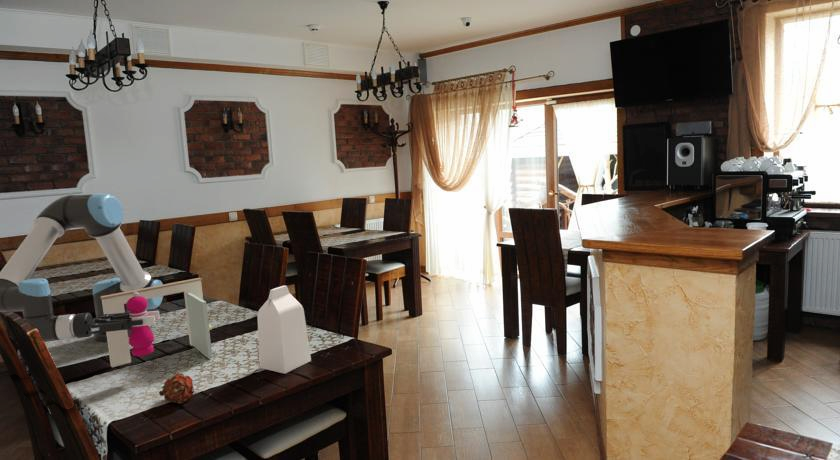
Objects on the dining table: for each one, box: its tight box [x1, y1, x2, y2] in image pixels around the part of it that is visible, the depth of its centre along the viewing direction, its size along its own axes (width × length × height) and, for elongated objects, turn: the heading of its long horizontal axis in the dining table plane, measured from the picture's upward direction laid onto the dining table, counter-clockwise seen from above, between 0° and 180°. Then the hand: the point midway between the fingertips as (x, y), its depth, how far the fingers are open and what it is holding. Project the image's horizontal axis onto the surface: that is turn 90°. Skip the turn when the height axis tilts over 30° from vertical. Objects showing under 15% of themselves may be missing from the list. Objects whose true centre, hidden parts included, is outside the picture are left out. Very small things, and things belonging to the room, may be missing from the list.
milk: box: [257, 285, 312, 374], centre depth 182 cm, size 12×12×26 cm
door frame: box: [100, 277, 204, 368], centre depth 200 cm, size 3×34×25 cm, turn 133°
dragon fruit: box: [158, 373, 195, 404], centre depth 160 cm, size 8×8×12 cm
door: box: [186, 292, 213, 360], centre depth 199 cm, size 3×20×20 cm, turn 38°
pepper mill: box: [126, 292, 155, 357], centre depth 176 cm, size 7×7×20 cm
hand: (156, 317), depth 177 cm, fingers closed on pepper mill, 5 cm apart
